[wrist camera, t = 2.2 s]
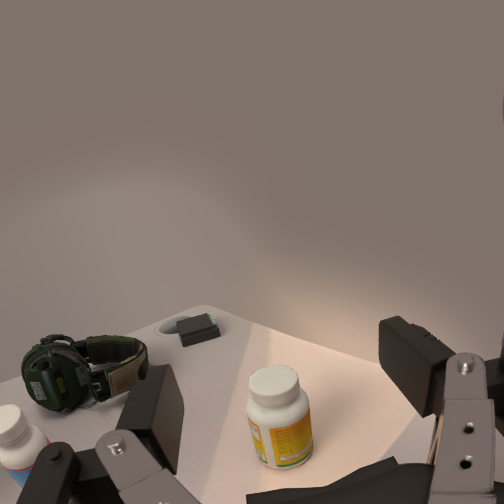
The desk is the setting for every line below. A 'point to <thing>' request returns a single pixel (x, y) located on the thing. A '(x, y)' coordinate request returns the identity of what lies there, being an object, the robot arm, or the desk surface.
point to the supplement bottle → (279, 417)
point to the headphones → (82, 369)
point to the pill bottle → (19, 443)
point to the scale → (197, 329)
